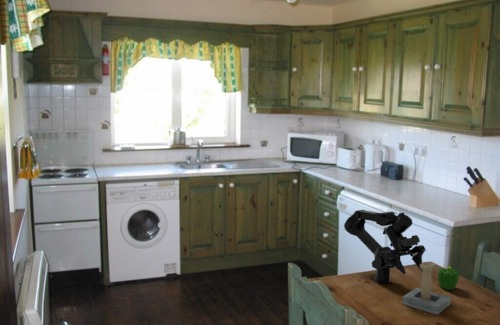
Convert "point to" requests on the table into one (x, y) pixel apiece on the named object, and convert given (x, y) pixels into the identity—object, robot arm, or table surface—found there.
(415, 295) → the block
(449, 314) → the table surface
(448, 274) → the bell pepper
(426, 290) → the handle
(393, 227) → the robot arm
